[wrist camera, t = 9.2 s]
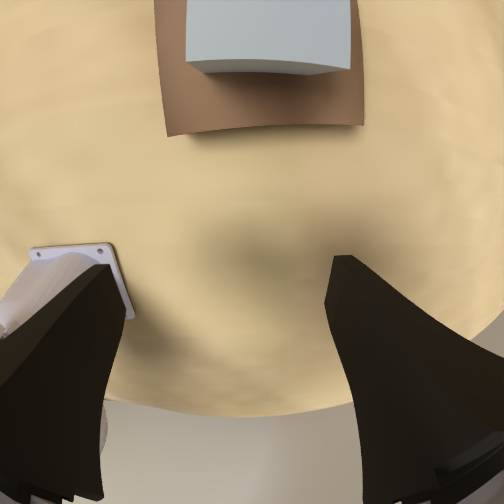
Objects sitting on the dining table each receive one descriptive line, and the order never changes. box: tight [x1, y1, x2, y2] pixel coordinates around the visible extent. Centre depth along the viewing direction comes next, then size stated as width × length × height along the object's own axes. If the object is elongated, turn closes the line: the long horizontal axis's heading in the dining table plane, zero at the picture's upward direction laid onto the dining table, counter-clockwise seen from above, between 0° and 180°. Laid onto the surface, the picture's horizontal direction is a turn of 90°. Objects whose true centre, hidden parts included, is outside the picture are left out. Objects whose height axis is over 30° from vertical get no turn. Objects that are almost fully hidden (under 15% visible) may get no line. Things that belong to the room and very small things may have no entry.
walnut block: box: [154, 0, 364, 137], centre depth 11 cm, size 10×10×4 cm
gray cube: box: [186, 0, 351, 75], centre depth 7 cm, size 5×5×5 cm
